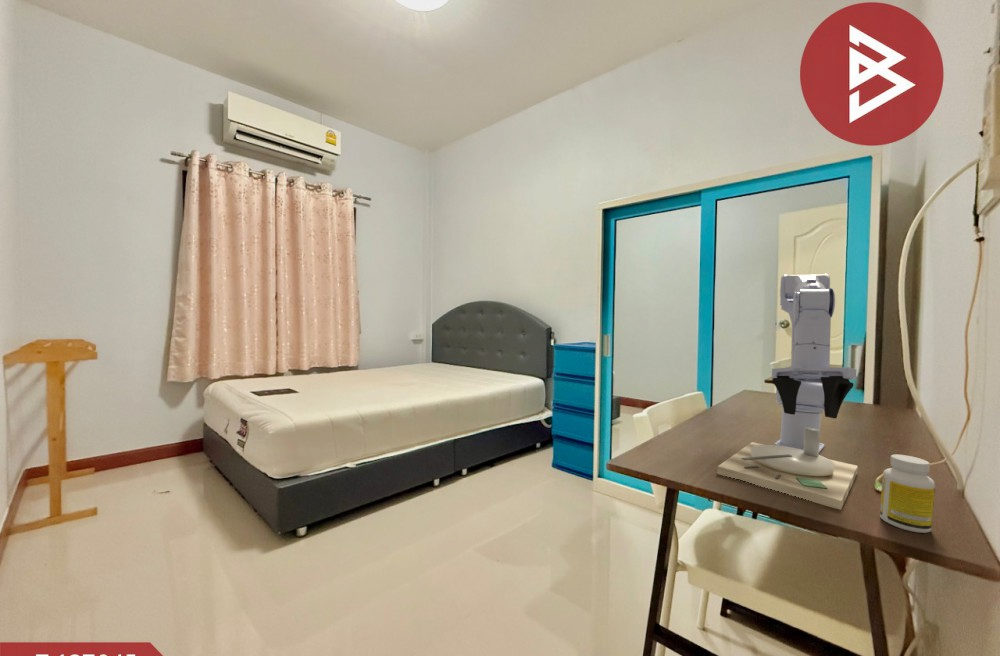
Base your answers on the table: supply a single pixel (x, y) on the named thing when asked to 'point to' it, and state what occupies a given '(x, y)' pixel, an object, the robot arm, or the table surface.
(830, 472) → the tuning knob
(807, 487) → the dial board
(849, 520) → the table surface
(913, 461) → the supplement bottle
